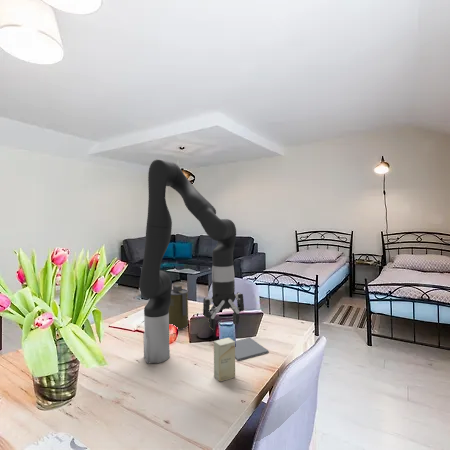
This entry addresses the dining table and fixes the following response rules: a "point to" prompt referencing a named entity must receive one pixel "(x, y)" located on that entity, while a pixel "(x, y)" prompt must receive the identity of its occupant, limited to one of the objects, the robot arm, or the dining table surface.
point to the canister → (179, 307)
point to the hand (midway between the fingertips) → (224, 326)
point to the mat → (248, 349)
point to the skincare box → (224, 359)
